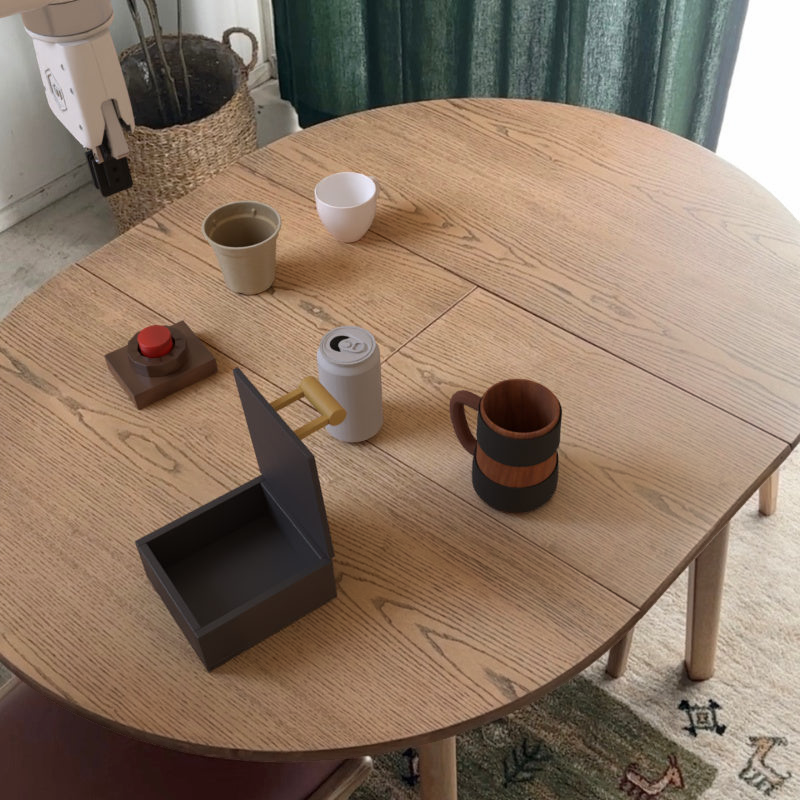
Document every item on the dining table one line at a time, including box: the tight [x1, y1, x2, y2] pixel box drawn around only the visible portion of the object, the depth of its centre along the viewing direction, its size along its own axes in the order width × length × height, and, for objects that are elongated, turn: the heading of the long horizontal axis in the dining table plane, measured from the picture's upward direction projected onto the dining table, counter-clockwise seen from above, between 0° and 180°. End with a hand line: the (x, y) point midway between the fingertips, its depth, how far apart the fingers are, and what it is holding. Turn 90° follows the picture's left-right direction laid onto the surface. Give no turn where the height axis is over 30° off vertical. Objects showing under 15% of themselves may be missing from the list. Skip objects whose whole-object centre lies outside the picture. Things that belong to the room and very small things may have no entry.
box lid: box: [232, 366, 347, 560], centre depth 94 cm, size 14×13×6 cm
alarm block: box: [103, 319, 219, 411], centre depth 119 cm, size 10×8×4 cm
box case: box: [134, 474, 338, 673], centre depth 98 cm, size 14×13×6 cm
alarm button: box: [138, 324, 173, 358], centre depth 118 cm, size 4×4×2 cm
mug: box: [448, 378, 563, 515], centre depth 104 cm, size 9×12×12 cm
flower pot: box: [201, 199, 283, 296], centre depth 128 cm, size 9×9×9 cm
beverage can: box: [316, 325, 384, 443], centre depth 110 cm, size 6×6×12 cm
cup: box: [314, 171, 381, 243], centre depth 136 cm, size 8×10×7 cm
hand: (114, 186), depth 103 cm, fingers closed
